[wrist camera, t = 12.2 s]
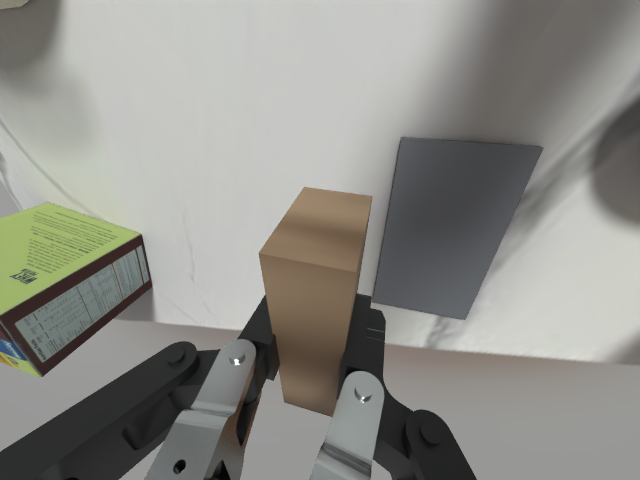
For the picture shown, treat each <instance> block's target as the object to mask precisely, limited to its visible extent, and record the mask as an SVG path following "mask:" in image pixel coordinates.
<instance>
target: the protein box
mask: <svg viewBox="0 0 640 480" xmlns="http://www.w3.org/2000/svg"><path fill="white" fill-rule="evenodd" d="M151 287H152V283H151V278H150V274H149V269H148V265H147V260H146V255H145V251H144V246H143V242H142V237H141V234H140V233H137V232H134V231H131V230H128V229H125V228H122V227H119V226H116V225H113V224H111V223H108V222H105V221H102V220H99V219H96V218H93V217H90V216H87V215H84V214H81V213H78V212H76V211H73V210H70V209H67V208H64V207H61V206H58V205H55V204H52V203H49V202H48V203H45V204H42V205H39V206H36V207H33V208H30V209H27V210H24V211H20V212H17V213H15V214H11V215H8V216H5V217H2V218H0V362H3V363H5V364H8V365H10V366H12V367H14V368H17V369H19V370H22V371H25V372H27V373H29V374H32V375H34V376H37V377H43V376H44V375H45V374H46V373H48V372H49V371H50V370H51V369H52V368H54V367H55V366H56V365H57V364H59V363H60V362H61V361H62V360H63V359H65V358H66V357H67V356H68V355H69V354H71V353H72V352H73V351H74V350H76V349H77V348H78V347H79V346H80V345H82V344H83V343H84V342H85V341H87V340H88V339H89V338H90V337H91V336H93V335H94V334H95V333H96V332H97V331H99V330H100V329H101V328H102V327H103V326H105V325H106V324H107V323H108V322H110V321H111V320H112V319H113V318H115V317H116V316H117V315H118V314H119V313H121V312H122V311H123V310H124V309H125V308H127V307H128V306H129V305H130V304H132V303H133V302H134V301H135V300H136V299H138V298H139V297H140V296H141V295H142V294H144V293H145V292H146V291H147V290H149V289H150V288H151Z"/></svg>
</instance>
